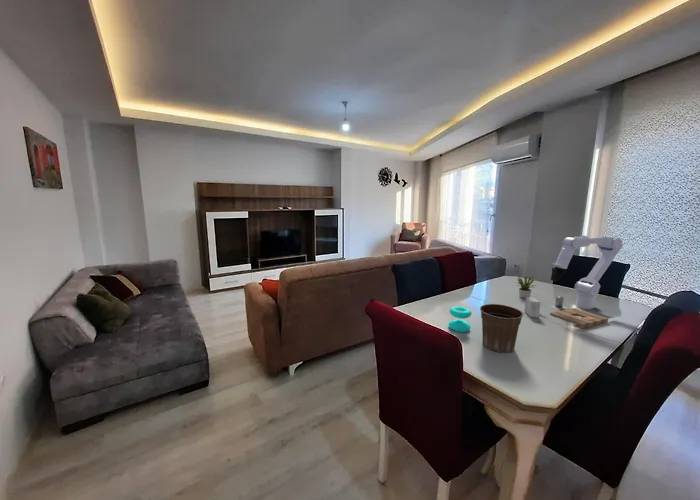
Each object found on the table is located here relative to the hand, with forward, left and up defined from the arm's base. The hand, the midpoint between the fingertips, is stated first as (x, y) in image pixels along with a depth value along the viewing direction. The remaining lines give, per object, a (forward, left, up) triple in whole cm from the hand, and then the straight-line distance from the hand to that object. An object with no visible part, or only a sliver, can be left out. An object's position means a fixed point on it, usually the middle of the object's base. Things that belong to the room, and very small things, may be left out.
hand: (553, 280), depth 160 cm
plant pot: (+61, +19, -18) cm, 66 cm away
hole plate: (-2, +13, -18) cm, 23 cm away
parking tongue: (-8, -1, -18) cm, 20 cm away
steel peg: (-8, -1, -17) cm, 19 cm away
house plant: (-8, -21, -18) cm, 29 cm away
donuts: (+64, -1, -18) cm, 67 cm away
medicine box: (+14, -1, -18) cm, 23 cm away
